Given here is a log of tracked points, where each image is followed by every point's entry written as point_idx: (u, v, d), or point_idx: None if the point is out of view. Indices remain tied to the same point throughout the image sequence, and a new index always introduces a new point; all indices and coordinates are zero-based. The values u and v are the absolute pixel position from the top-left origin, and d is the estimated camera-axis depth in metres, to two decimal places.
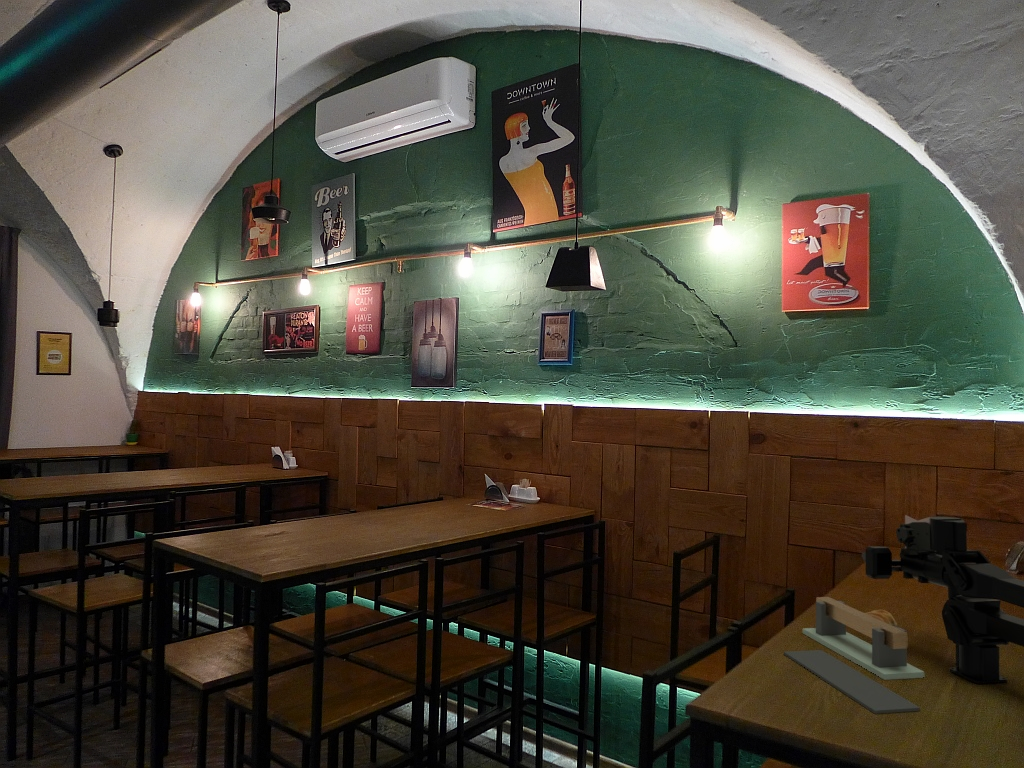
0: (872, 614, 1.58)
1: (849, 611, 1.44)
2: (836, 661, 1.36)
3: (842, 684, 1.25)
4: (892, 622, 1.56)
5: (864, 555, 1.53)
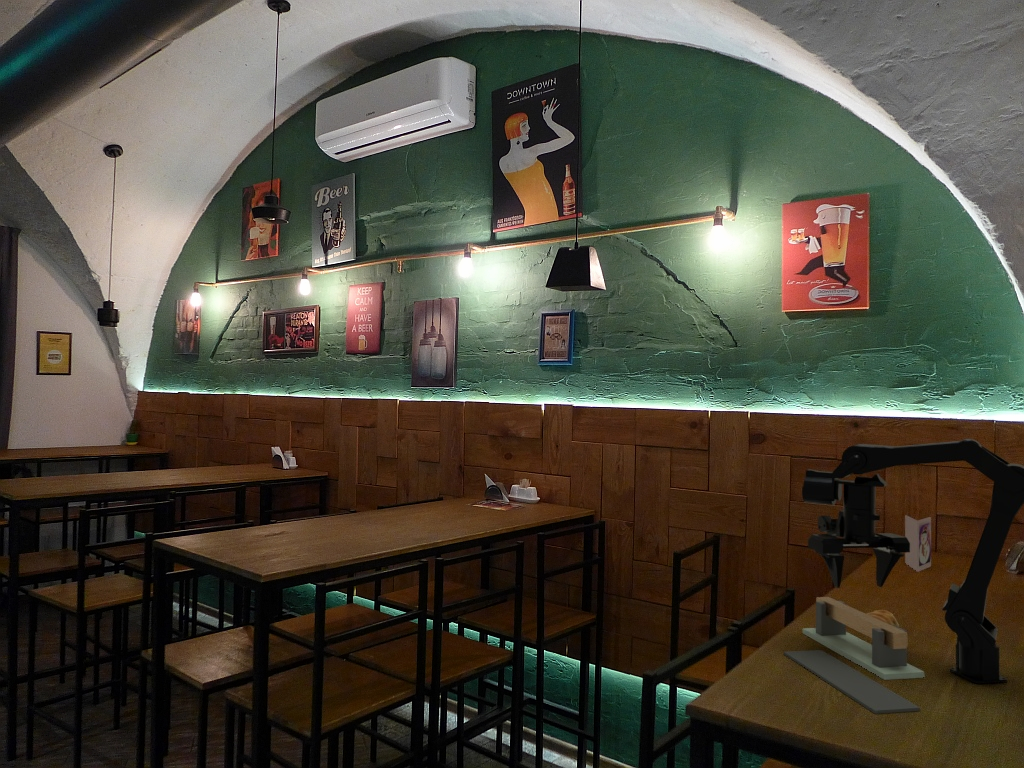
0: (874, 614, 1.57)
1: (849, 611, 1.44)
2: (836, 661, 1.36)
3: (842, 684, 1.25)
4: (894, 622, 1.56)
5: (833, 579, 1.42)
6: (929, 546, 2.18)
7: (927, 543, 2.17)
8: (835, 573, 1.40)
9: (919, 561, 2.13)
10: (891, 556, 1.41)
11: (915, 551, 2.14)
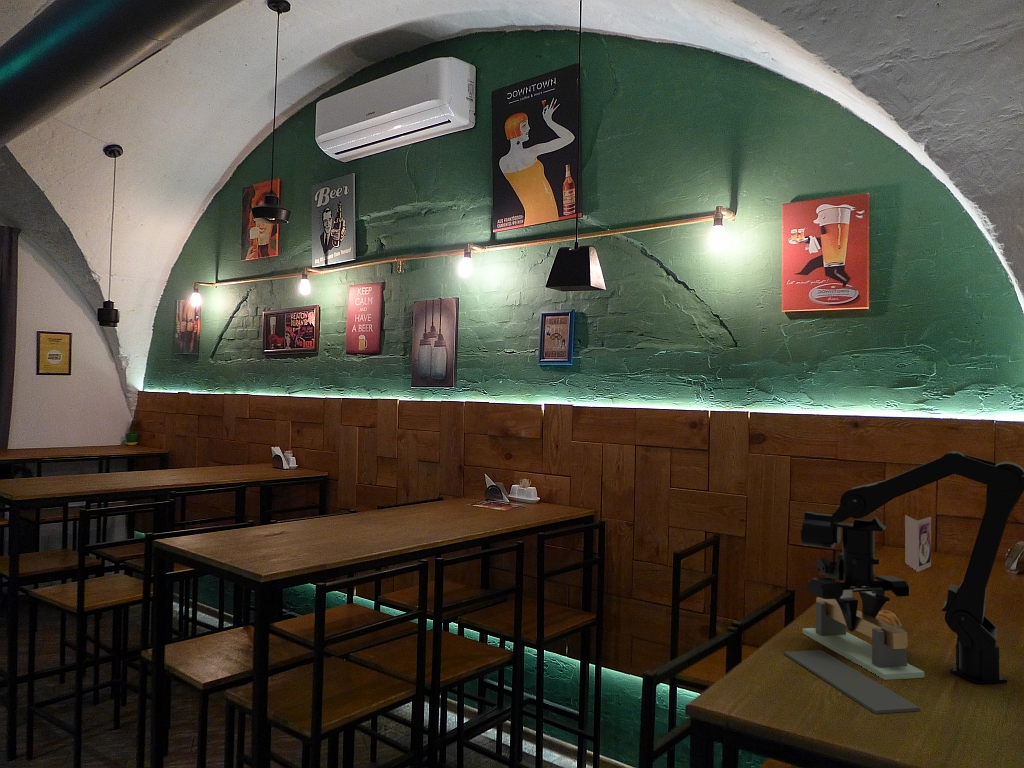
0: (877, 615, 1.57)
1: None
2: (836, 661, 1.36)
3: (842, 684, 1.25)
4: (897, 623, 1.56)
5: (847, 623, 1.42)
6: (929, 546, 2.18)
7: (927, 543, 2.17)
8: (849, 617, 1.41)
9: (919, 561, 2.13)
10: (877, 601, 1.40)
11: (915, 551, 2.14)
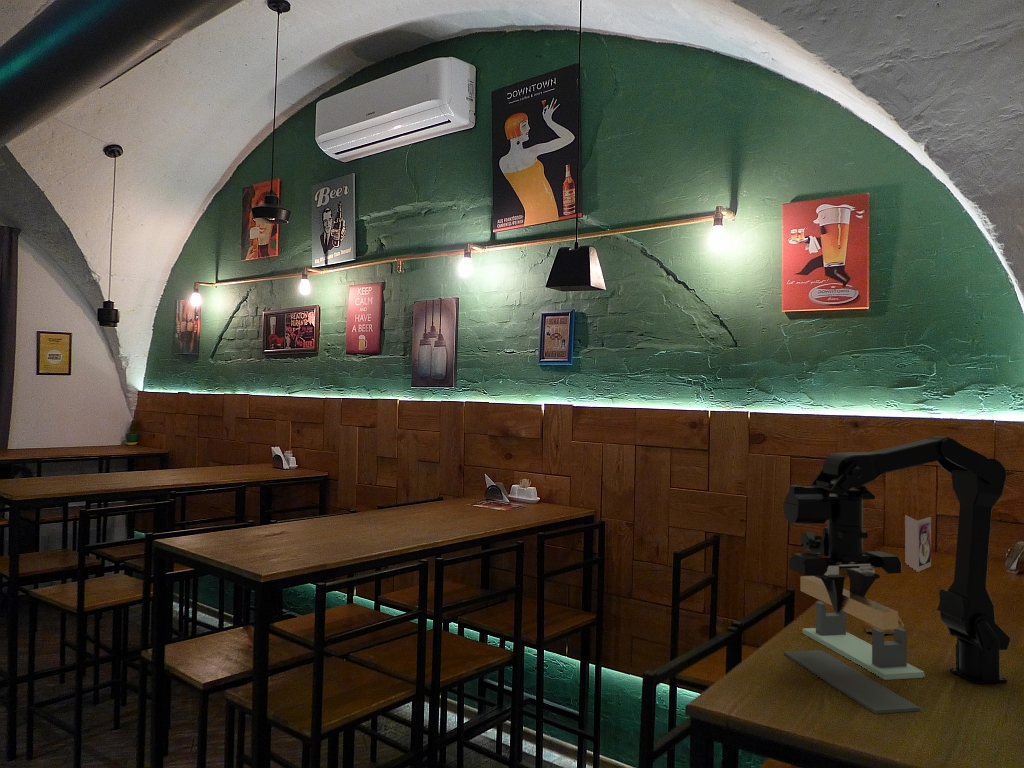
0: None
1: None
2: (836, 661, 1.36)
3: (842, 684, 1.25)
4: (900, 623, 1.56)
5: (833, 603, 1.29)
6: (929, 546, 2.18)
7: (927, 543, 2.17)
8: (835, 596, 1.27)
9: (919, 561, 2.13)
10: (865, 578, 1.27)
11: (915, 551, 2.14)
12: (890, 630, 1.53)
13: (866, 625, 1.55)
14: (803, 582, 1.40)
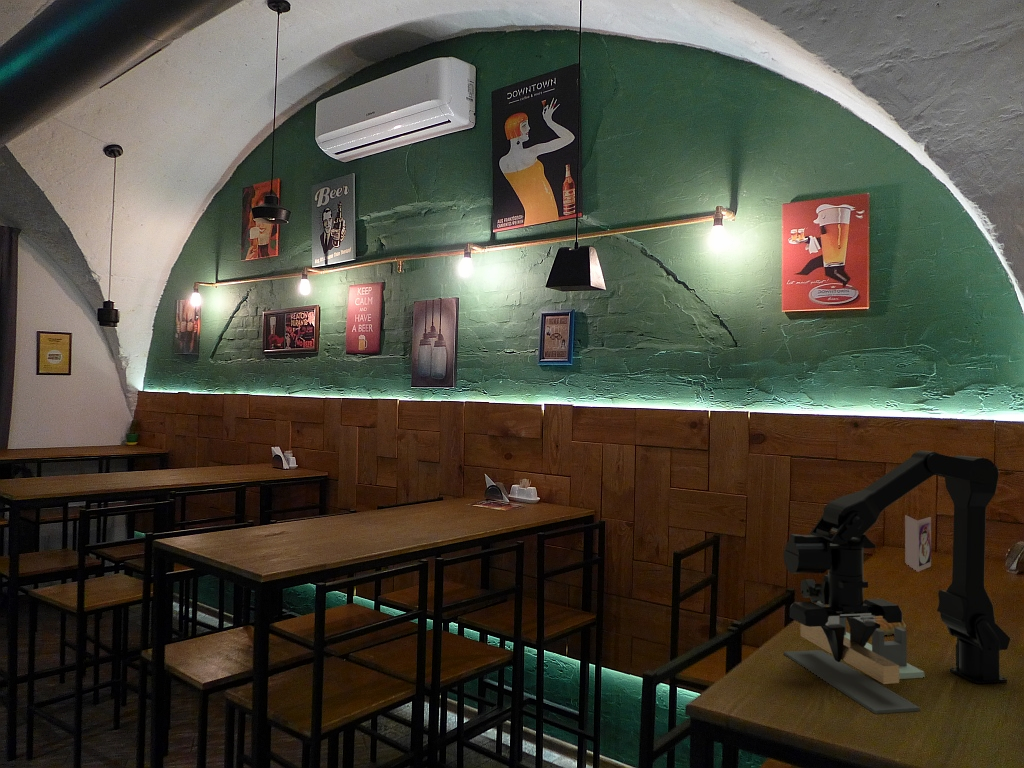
0: (882, 616, 1.57)
1: None
2: (836, 661, 1.36)
3: (842, 684, 1.25)
4: (902, 623, 1.55)
5: (833, 652, 1.28)
6: (929, 546, 2.18)
7: (927, 543, 2.17)
8: (835, 646, 1.27)
9: (919, 561, 2.13)
10: (866, 628, 1.26)
11: (915, 551, 2.14)
12: (893, 630, 1.53)
13: None
14: (803, 627, 1.39)
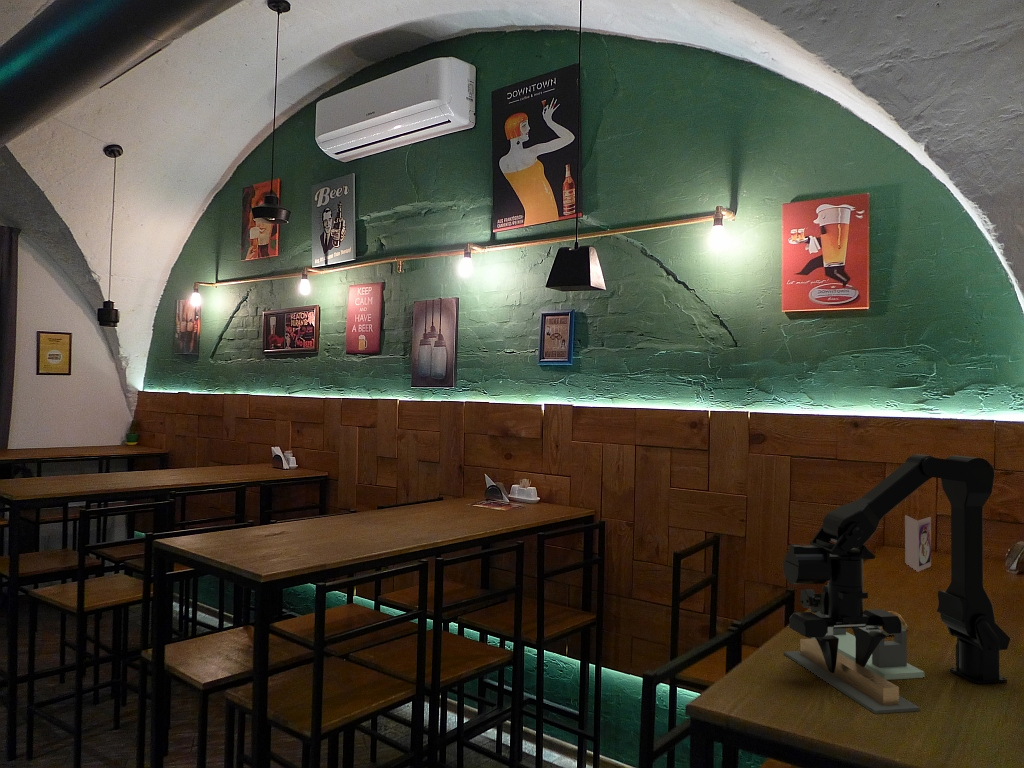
0: None
1: None
2: None
3: (842, 684, 1.25)
4: (903, 624, 1.55)
5: (827, 663, 1.28)
6: (929, 546, 2.18)
7: (927, 543, 2.17)
8: (829, 657, 1.27)
9: (919, 561, 2.13)
10: (871, 638, 1.26)
11: (915, 551, 2.14)
12: None
13: None
14: (803, 645, 1.39)
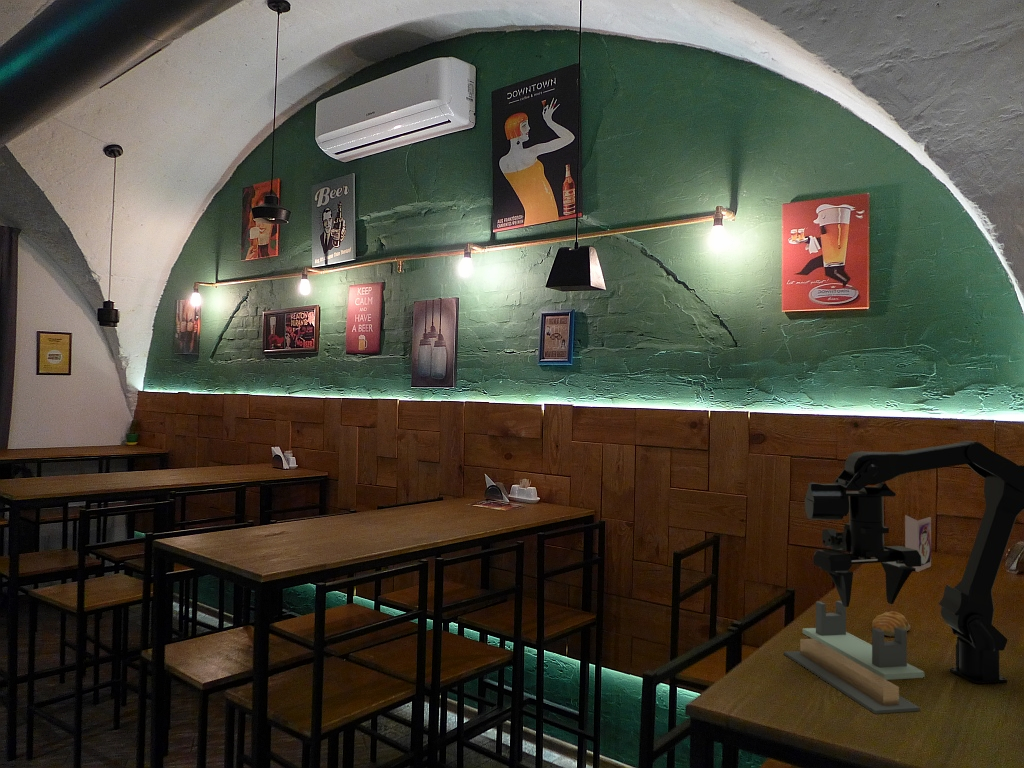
0: (887, 617, 1.56)
1: (835, 658, 1.30)
2: None
3: (842, 684, 1.25)
4: (906, 624, 1.55)
5: (842, 598, 1.32)
6: (929, 546, 2.18)
7: (927, 543, 2.17)
8: (844, 591, 1.31)
9: None
10: (902, 571, 1.32)
11: None
12: None
13: (874, 627, 1.54)
14: (803, 645, 1.39)
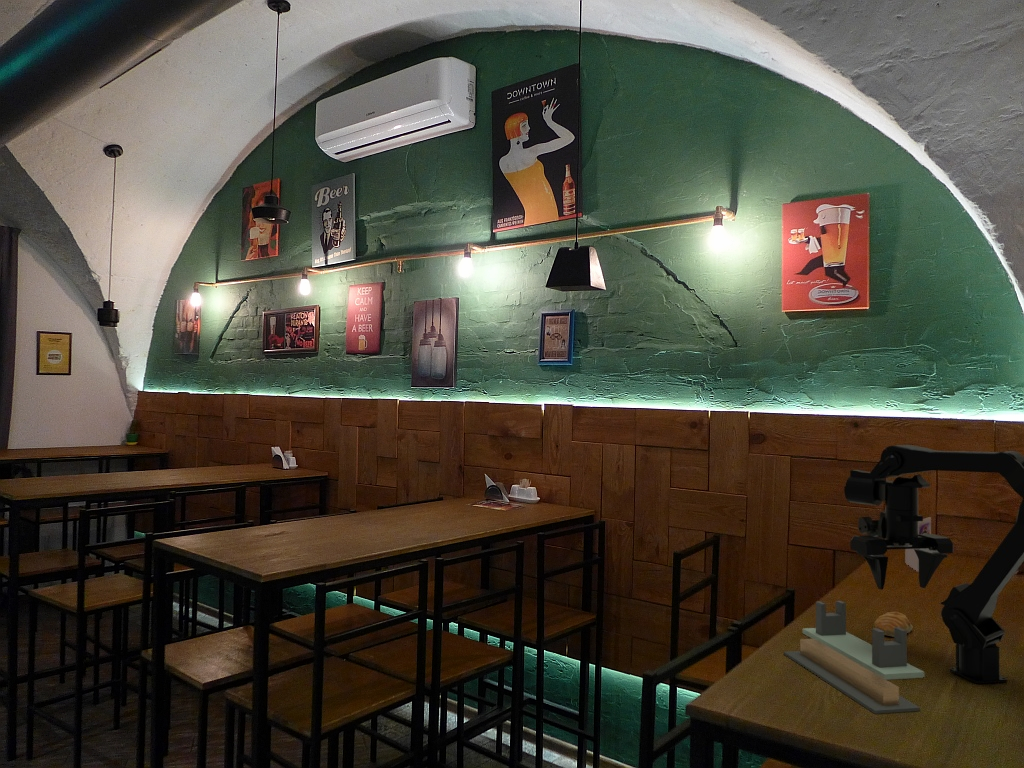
0: (889, 617, 1.56)
1: (835, 658, 1.30)
2: None
3: (842, 684, 1.25)
4: (909, 624, 1.55)
5: (877, 581, 1.41)
6: None
7: None
8: (879, 575, 1.40)
9: None
10: (935, 557, 1.40)
11: None
12: None
13: (877, 627, 1.54)
14: (803, 645, 1.39)
